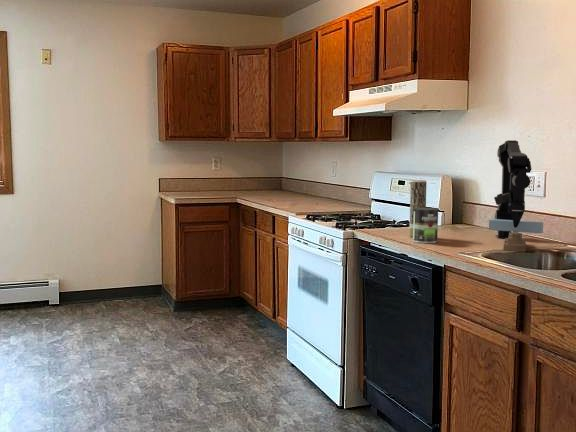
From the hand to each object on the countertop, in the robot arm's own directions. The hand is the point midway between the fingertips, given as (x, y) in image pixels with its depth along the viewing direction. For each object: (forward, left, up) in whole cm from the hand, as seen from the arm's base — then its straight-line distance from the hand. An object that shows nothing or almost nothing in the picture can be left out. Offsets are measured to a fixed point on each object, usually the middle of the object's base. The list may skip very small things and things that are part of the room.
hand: (515, 226), depth 252 cm
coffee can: (-11, -34, -9) cm, 37 cm away
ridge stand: (0, 0, -8) cm, 8 cm away
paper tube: (-23, -36, -9) cm, 44 cm away
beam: (0, 0, -2) cm, 2 cm away
